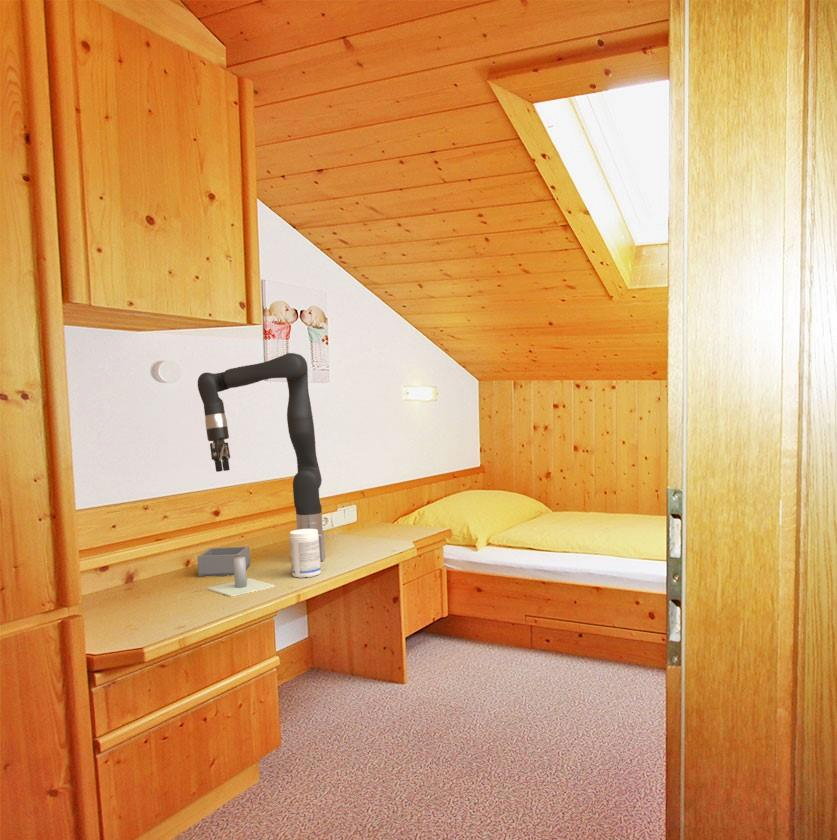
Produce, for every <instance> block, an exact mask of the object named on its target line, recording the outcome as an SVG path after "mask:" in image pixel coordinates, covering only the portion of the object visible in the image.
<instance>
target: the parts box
mask: <svg viewBox="0 0 837 840" xmlns="http://www.w3.org/2000/svg"><path fill="white" fill-rule="evenodd" d="M235 557H245V560H246V570H248V569H249V568H250V567H251V558H250V557H251V553H250V546H230V547H229V546H228V547H210V548H208V549H207V550H205V551H204V552H202V553H201V554H199V555H197V573H198V575H197V576H198V578H205V577H204V576H218V577H228V576H227V575H234V558H235ZM249 566H250V567H249ZM248 567H249V568H248ZM247 568H248V569H247Z"/></svg>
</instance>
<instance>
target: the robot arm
mask: <svg viewBox="0 0 837 840" xmlns="http://www.w3.org/2000/svg"><path fill="white" fill-rule="evenodd" d="M308 372H309V371H308V363H307V360H306V359H305V358H304V356H302V355H301V354H299V353H294V352H288V353H285V354H282V355H280V356H278V357H275V358H272V359H270V360H267V361H263V362H259V363H254V364H248V365H242V366H237V367H233V368H228V369H226V370H225V371H223V372H222V371H221V372H216V373H211V372H203V373H201V374H200V375H199V376H198V379H197V388H198V393H199V396H200V398H201V400H202V401H201V402H202V404H203V410H204V412H203V413H204V420H205V421H204V423H205V429H206V437H207V442H211V443H209V448H210V456H211V457H210V458H211V460H213V462H214V466H215V471H216V473H218V472H222V471H224V472H227V471H230V463H229V460H230V459H231V455H230V453H231V452H230V448H229V442H227V441H226V442H225V440H228V439H229V438H230V435H229V429H228V422H227V418H226V417H227V416H226V414H225V413H226V412H225V405H224V400H223V399H222V398H220V396H219V392H223V391H227V390H229V389H232V388H233V389H235V388H239V387H244V386H248V385H252V384H256V383H258V382H261V381H265V380H269V379H270V380H271V379H285V378H286V382H287V388H288V400H287V401H288V402H287V403H288V404H287V408H286V409H287V410H286V421H287V430H288V434H289V438H290V442H291V445H292V448H293V450H294V452H295V455H296V464H297V466H296V467H297V473H296V474H295V475H294V477H293V479H292V494H293V495H292V496H293V504H294V508H295V516H296V518H295V522H296V530H299V529H317V530H318V535H319V549H320V562H323V561H324V560H325V559H326V552H325V551H326V550H325V548H326V547H325V533H324V532H323V531H324V530H323V511H322V505H321V501H320V500H321V499H320V488H321V485H322V481H323V480H322V475H321V470H320V466H319V462H318V457H317V450H316V447H317V446H316V435H315V433H316V432H315V425H314V418H313V411H312V405H311V399H310V393H309V381H308V380H309V379H308V378H309V377H308V376H309V375H308ZM324 558H325V559H324Z"/></svg>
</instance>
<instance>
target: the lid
mask: <svg viewBox="0 0 837 840" xmlns="http://www.w3.org/2000/svg"><path fill="white" fill-rule="evenodd" d="M233 577H234V581H232V582H227V583H222V584H217V585H214V586H209V587H207V588H206V589H209V590H208V591H210V590H212V591H211V592H213V591H215V592H214V593H216V592H218V593H217V594H219V593H222V594H225V595H224V596H226V595H228V596H227V597H229V596H236V595H240V594H244V593H248V594H250V593H249V592H252V593H255V592H254V591H256V592H259V591H258V590H260V591H264V590H267V588H268V589H272V588H275V587H276V585H275V584H272V583H268V582H265V581H262V580H258V579H254V578H247V569H246V560H245V557H235V558H234V576H233ZM271 587H272V588H271ZM263 589H264V590H263ZM222 594H221V595H222ZM244 595H245V594H244ZM240 596H241V595H240ZM236 597H237V596H236Z"/></svg>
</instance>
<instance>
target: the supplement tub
mask: <svg viewBox="0 0 837 840" xmlns="http://www.w3.org/2000/svg"><path fill="white" fill-rule="evenodd" d="M289 547H290V560H291V561H290V562H291V575H292V576H293V577H294V578H297V577H298V579H302V578H305V577H308V578H313V577H317V576H319V575H320V574H321V572H322V568H321V561H320V549H319V535H318V530H317V529H299V530H297V529H295V530H291V531H290V532H289ZM316 575H317V576H316Z"/></svg>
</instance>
